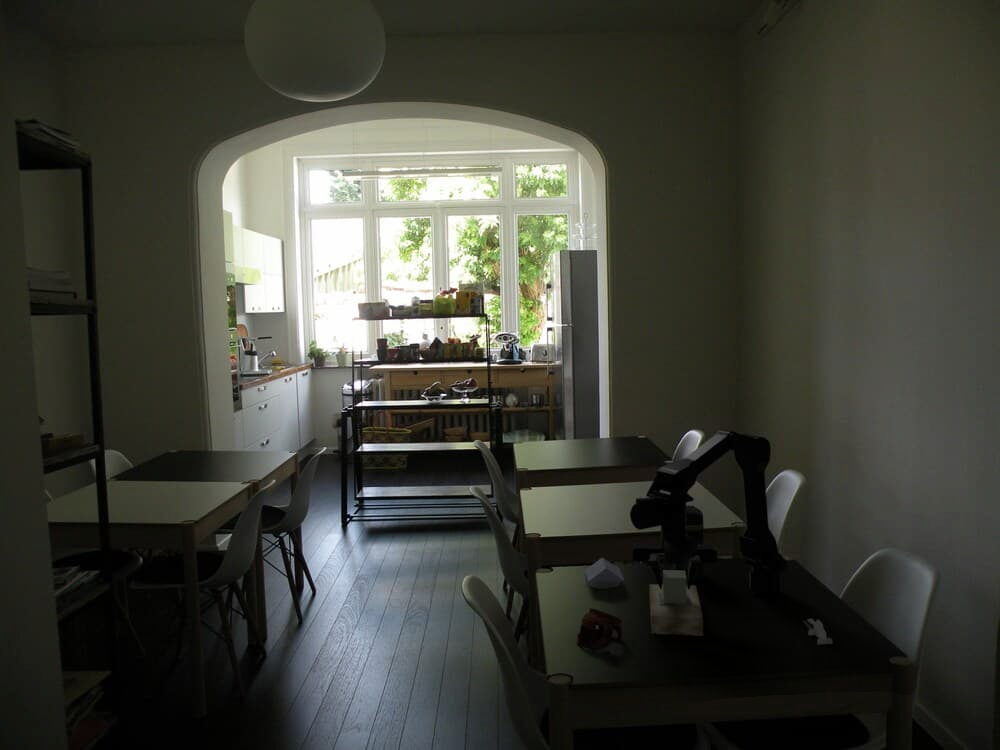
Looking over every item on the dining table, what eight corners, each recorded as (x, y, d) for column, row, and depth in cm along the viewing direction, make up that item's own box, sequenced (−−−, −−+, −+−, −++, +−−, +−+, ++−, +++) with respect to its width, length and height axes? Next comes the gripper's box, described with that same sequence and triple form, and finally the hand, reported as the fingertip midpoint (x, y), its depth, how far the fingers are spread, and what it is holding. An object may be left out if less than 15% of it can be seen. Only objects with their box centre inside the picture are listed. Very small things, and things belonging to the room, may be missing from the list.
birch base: (695, 601, 192) (695, 584, 192) (703, 635, 173) (703, 616, 172) (649, 600, 194) (649, 583, 194) (651, 633, 175) (651, 615, 174)
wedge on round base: (624, 593, 199) (618, 576, 212) (624, 567, 199) (617, 551, 212) (588, 594, 200) (584, 577, 212) (587, 568, 199) (583, 552, 212)
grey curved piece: (843, 647, 166) (843, 626, 165) (811, 649, 165) (811, 628, 165) (813, 619, 181) (813, 600, 180) (784, 621, 180) (784, 601, 180)
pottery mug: (567, 640, 174) (580, 603, 176) (606, 655, 175) (617, 618, 178) (586, 648, 163) (599, 608, 165) (627, 664, 164) (639, 625, 166)
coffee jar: (706, 583, 205) (705, 512, 203) (674, 582, 206) (673, 512, 204) (701, 570, 214) (700, 502, 213) (671, 570, 215) (670, 502, 214)
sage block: (685, 595, 185) (684, 570, 185) (686, 603, 180) (686, 577, 180) (663, 595, 186) (662, 570, 185) (664, 603, 181) (663, 577, 180)
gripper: (632, 531, 175) (633, 600, 176) (719, 532, 172) (720, 602, 173) (632, 518, 186) (633, 583, 187) (714, 519, 183) (715, 585, 184)
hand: (674, 588), depth 183 cm, fingers open, 6 cm apart
